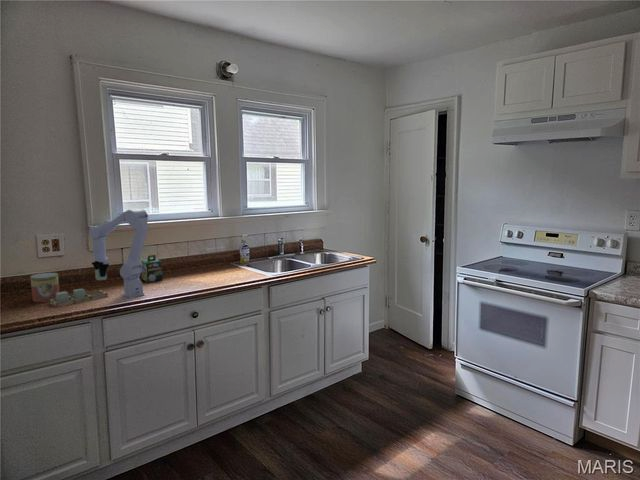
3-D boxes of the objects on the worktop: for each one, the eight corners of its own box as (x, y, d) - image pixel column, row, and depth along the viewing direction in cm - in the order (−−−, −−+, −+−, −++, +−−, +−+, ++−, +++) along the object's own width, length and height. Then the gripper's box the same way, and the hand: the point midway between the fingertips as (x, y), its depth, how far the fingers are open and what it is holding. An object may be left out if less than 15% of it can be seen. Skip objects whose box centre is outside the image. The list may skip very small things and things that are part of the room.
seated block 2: (85, 299, 200) (85, 289, 199) (76, 301, 197) (75, 291, 196) (82, 298, 203) (81, 288, 202) (73, 299, 200) (72, 289, 199)
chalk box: (157, 277, 248) (156, 253, 246) (163, 280, 242) (162, 255, 239) (141, 279, 242) (140, 254, 240) (147, 282, 235) (145, 257, 233)
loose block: (106, 279, 215) (106, 269, 214) (98, 280, 212) (98, 271, 211) (103, 277, 218) (103, 268, 217) (95, 279, 215) (94, 269, 214)
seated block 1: (69, 303, 195) (68, 292, 194) (59, 305, 192) (58, 294, 191) (66, 301, 197) (65, 291, 196) (56, 303, 194) (55, 293, 193)
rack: (107, 297, 206) (107, 293, 205) (56, 307, 189) (55, 302, 188) (100, 294, 211) (100, 290, 211) (50, 303, 194) (49, 299, 194)
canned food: (32, 304, 194) (30, 279, 192) (32, 298, 203) (29, 274, 201) (61, 300, 200) (59, 276, 198) (59, 294, 209) (57, 271, 207)
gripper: (113, 250, 211) (115, 276, 213) (101, 247, 220) (103, 272, 222) (98, 252, 206) (100, 279, 208) (87, 249, 215) (89, 274, 217)
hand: (101, 275), depth 215 cm, fingers closed on loose block, 4 cm apart
